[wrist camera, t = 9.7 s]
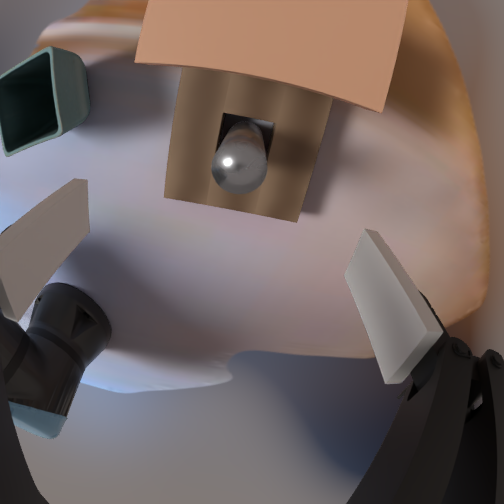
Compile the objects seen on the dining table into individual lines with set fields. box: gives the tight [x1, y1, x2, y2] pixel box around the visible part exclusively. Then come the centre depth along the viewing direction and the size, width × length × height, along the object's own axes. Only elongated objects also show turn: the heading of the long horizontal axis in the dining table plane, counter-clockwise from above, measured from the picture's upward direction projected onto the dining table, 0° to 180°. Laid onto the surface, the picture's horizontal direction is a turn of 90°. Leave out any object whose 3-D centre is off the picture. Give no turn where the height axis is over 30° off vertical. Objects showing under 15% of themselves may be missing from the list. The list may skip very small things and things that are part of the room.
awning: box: [134, 0, 408, 113], centre depth 17 cm, size 15×11×13 cm
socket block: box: [164, 67, 333, 223], centre depth 27 cm, size 14×14×3 cm
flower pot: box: [0, 46, 90, 157], centre depth 21 cm, size 9×9×9 cm
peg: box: [211, 121, 267, 194], centre depth 23 cm, size 4×4×12 cm
